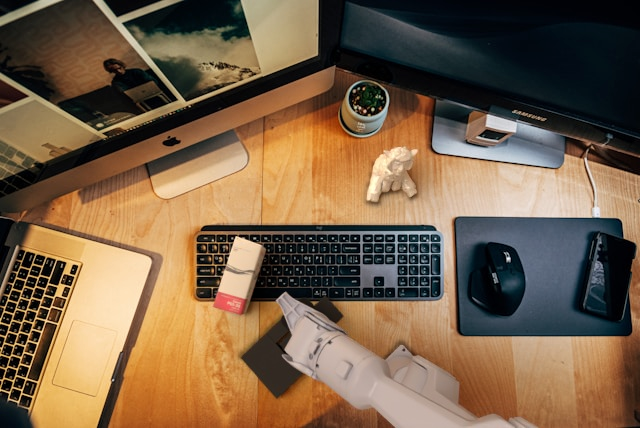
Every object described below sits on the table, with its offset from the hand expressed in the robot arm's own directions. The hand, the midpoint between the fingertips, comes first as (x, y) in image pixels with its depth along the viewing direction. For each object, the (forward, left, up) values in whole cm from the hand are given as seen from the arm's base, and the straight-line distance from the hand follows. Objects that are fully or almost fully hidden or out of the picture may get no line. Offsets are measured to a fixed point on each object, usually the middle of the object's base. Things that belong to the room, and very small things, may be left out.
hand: (312, 326), depth 75 cm
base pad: (0, +8, -2) cm, 8 cm away
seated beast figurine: (+10, -28, -2) cm, 30 cm away
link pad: (0, 0, -1) cm, 1 cm away
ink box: (+11, +8, +2) cm, 14 cm away
